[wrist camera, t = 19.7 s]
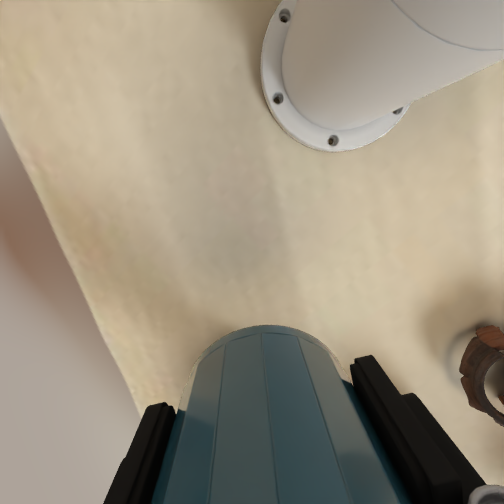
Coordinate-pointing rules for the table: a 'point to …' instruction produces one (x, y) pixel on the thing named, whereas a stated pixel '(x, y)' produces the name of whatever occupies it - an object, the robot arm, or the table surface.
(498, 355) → the pottery mug
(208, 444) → the cup
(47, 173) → the table surface
